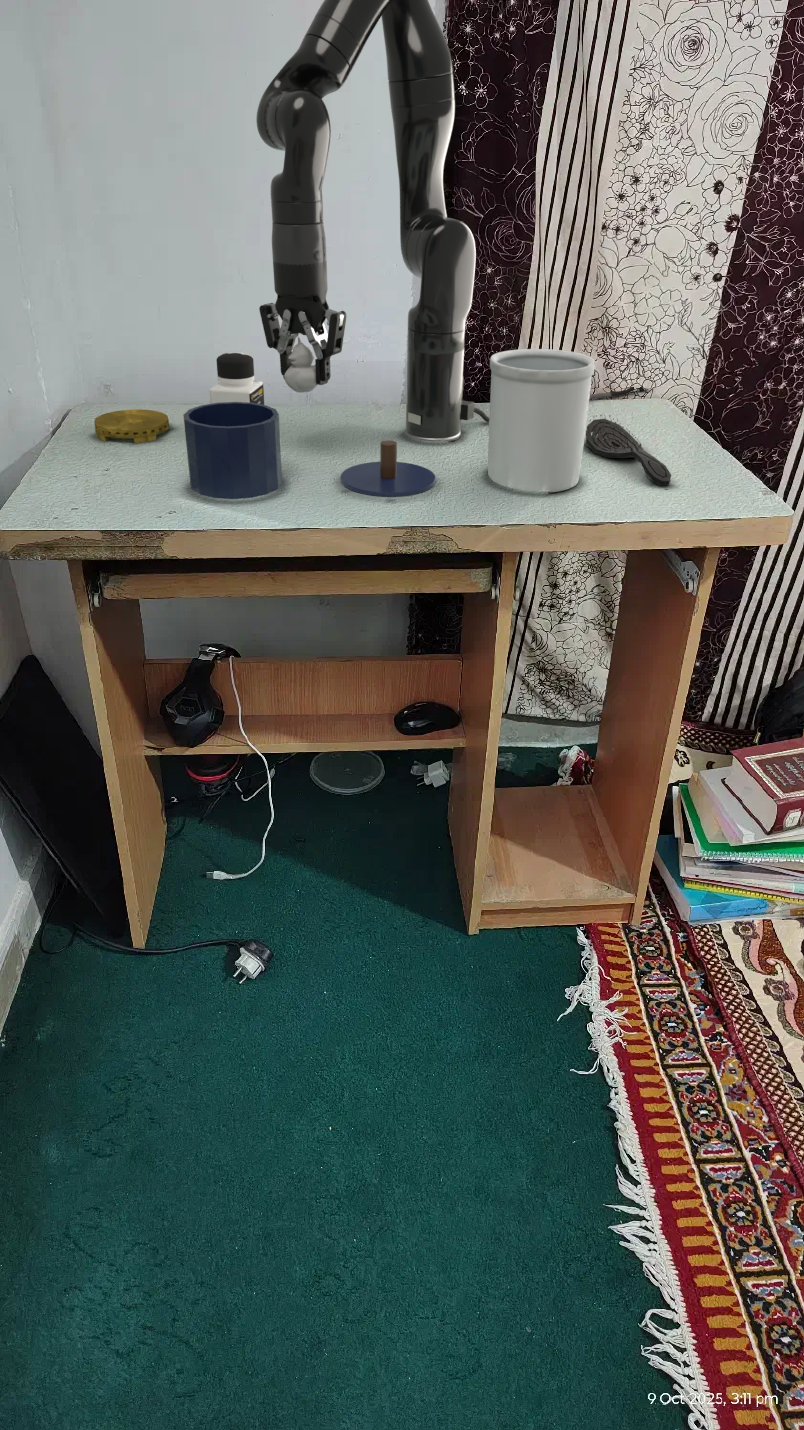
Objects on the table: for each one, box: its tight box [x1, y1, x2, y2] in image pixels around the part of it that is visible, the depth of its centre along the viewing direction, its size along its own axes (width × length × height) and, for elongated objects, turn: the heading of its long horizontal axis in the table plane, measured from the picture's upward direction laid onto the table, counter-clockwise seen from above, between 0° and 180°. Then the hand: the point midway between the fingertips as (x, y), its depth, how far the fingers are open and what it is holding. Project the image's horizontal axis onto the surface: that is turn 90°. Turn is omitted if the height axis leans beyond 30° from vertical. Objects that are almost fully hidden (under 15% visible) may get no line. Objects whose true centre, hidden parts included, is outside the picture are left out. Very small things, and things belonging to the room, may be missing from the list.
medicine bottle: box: [209, 351, 265, 405], centre depth 165 cm, size 7×7×12 cm
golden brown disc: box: [93, 409, 170, 444], centre depth 165 cm, size 12×12×2 cm
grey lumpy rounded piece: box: [283, 336, 318, 394], centre depth 146 cm, size 5×7×8 cm
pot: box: [182, 402, 283, 500], centre depth 141 cm, size 13×13×10 cm
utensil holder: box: [487, 348, 596, 494], centre depth 144 cm, size 15×15×18 cm
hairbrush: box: [585, 414, 672, 488], centre depth 157 cm, size 8×4×25 cm
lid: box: [340, 439, 437, 498], centre depth 144 cm, size 14×14×6 cm
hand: (305, 380), depth 147 cm, fingers closed on grey lumpy rounded piece, 5 cm apart
